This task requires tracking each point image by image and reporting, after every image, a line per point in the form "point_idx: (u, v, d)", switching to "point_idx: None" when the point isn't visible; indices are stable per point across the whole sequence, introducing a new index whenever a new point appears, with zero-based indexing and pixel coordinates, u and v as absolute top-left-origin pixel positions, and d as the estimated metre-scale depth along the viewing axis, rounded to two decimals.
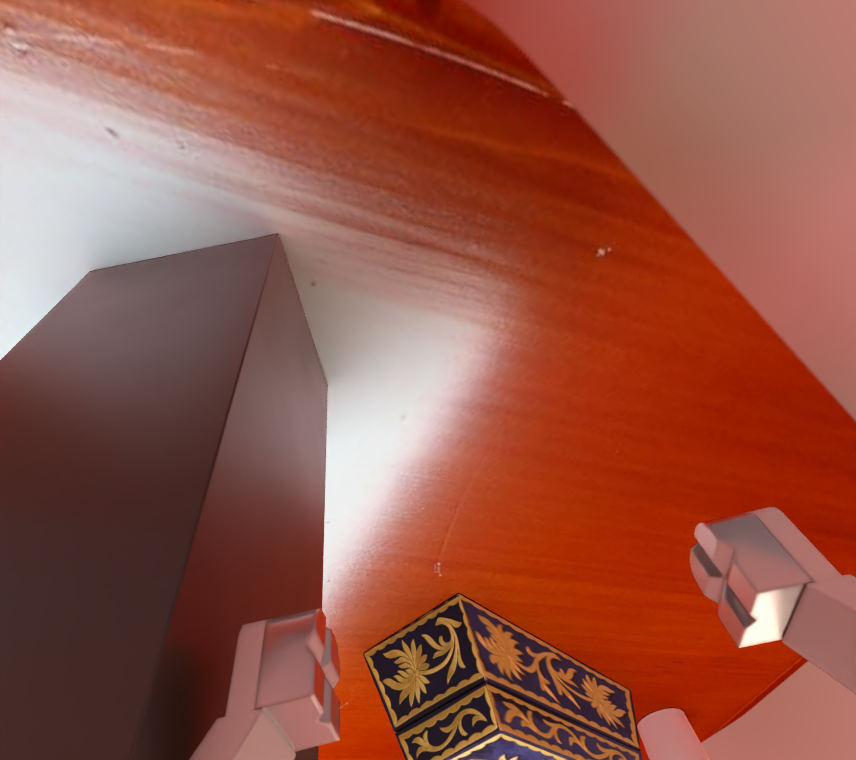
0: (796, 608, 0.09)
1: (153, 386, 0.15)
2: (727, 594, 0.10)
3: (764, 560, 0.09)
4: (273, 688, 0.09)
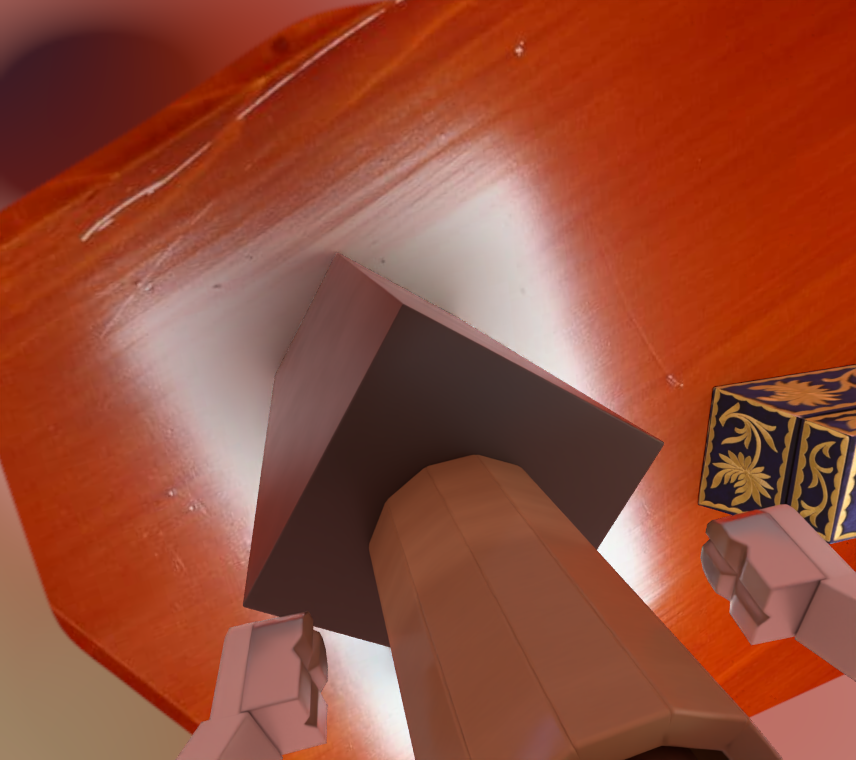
0: (810, 606, 0.09)
1: (330, 321, 0.22)
2: (740, 591, 0.10)
3: (777, 557, 0.09)
4: (258, 692, 0.09)
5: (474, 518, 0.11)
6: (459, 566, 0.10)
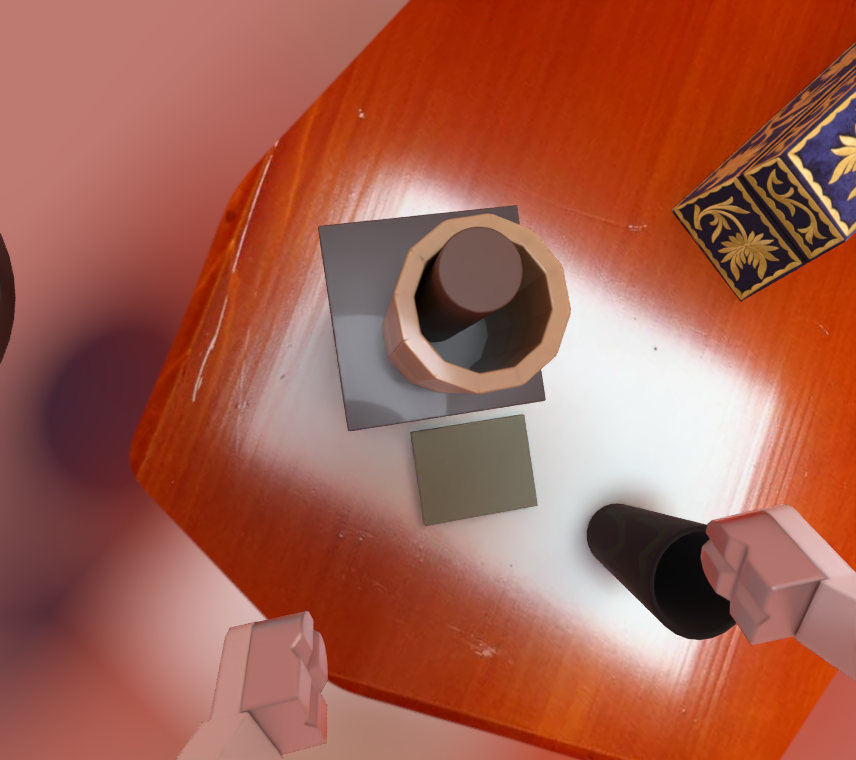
0: (809, 605, 0.09)
1: None
2: (740, 591, 0.10)
3: (777, 557, 0.09)
4: (258, 692, 0.09)
5: None
6: None
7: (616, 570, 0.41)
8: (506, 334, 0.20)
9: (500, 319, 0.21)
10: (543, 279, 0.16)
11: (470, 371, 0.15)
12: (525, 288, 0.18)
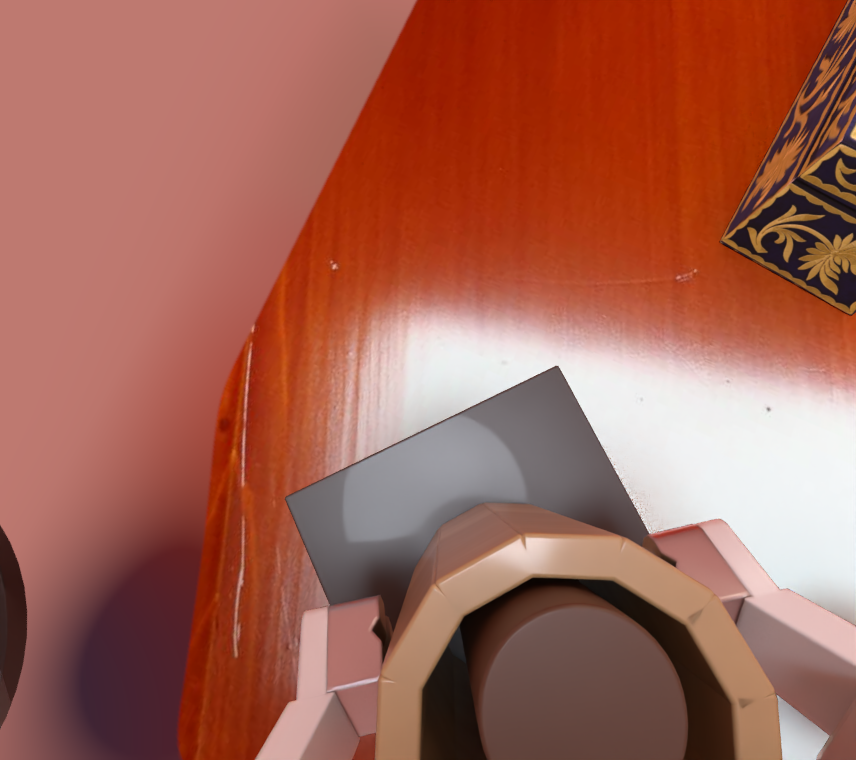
0: (736, 622, 0.09)
1: None
2: None
3: (705, 573, 0.09)
4: (342, 673, 0.09)
5: (416, 575, 0.12)
6: None
7: None
8: None
9: (595, 585, 0.12)
10: (683, 629, 0.07)
11: None
12: (635, 594, 0.09)
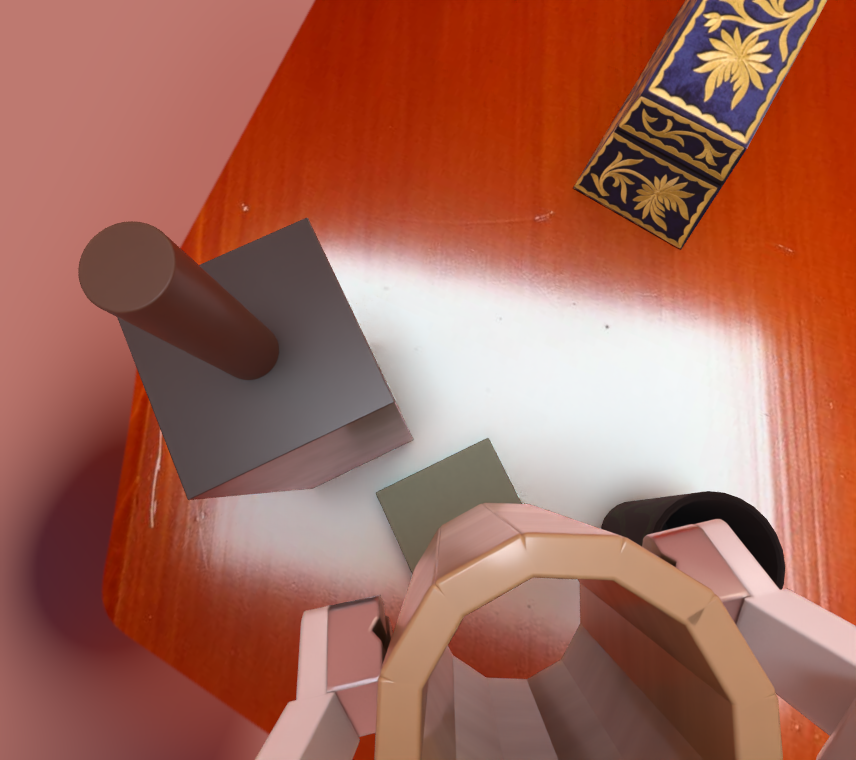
0: (736, 622, 0.09)
1: None
2: None
3: (705, 574, 0.09)
4: (342, 672, 0.09)
5: (415, 575, 0.12)
6: None
7: None
8: (618, 627, 0.11)
9: (595, 585, 0.12)
10: (683, 630, 0.07)
11: None
12: (635, 594, 0.09)
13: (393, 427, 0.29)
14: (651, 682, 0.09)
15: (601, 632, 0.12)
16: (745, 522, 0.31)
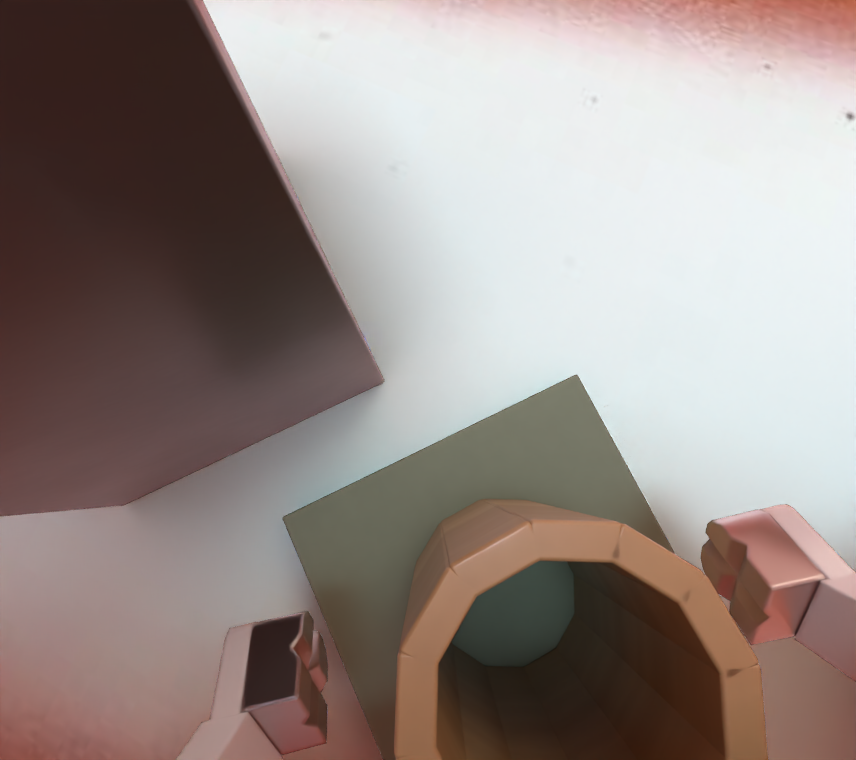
0: (809, 606, 0.09)
1: None
2: (740, 591, 0.10)
3: (777, 557, 0.09)
4: (258, 691, 0.09)
5: (420, 566, 0.13)
6: None
7: None
8: (612, 613, 0.12)
9: (590, 575, 0.13)
10: (676, 607, 0.08)
11: None
12: (630, 579, 0.10)
13: (68, 8, 0.03)
14: (644, 662, 0.10)
15: (595, 620, 0.13)
16: None
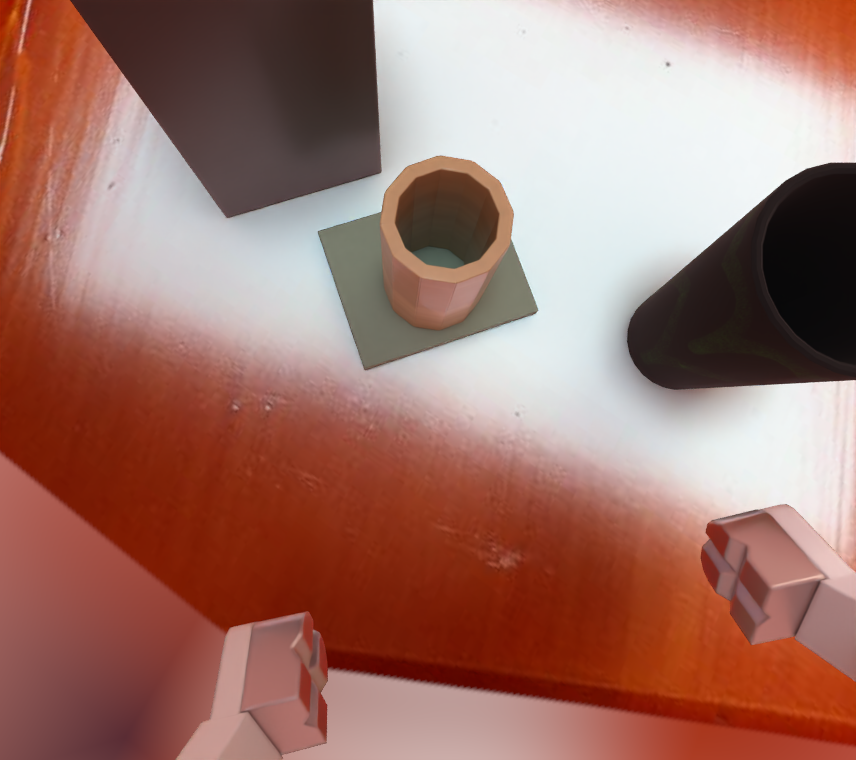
0: (809, 606, 0.09)
1: None
2: (740, 591, 0.10)
3: (777, 557, 0.09)
4: (258, 692, 0.09)
5: None
6: None
7: (687, 344, 0.23)
8: None
9: (474, 255, 0.26)
10: (488, 195, 0.21)
11: (447, 268, 0.20)
12: (481, 213, 0.23)
13: None
14: None
15: None
16: None
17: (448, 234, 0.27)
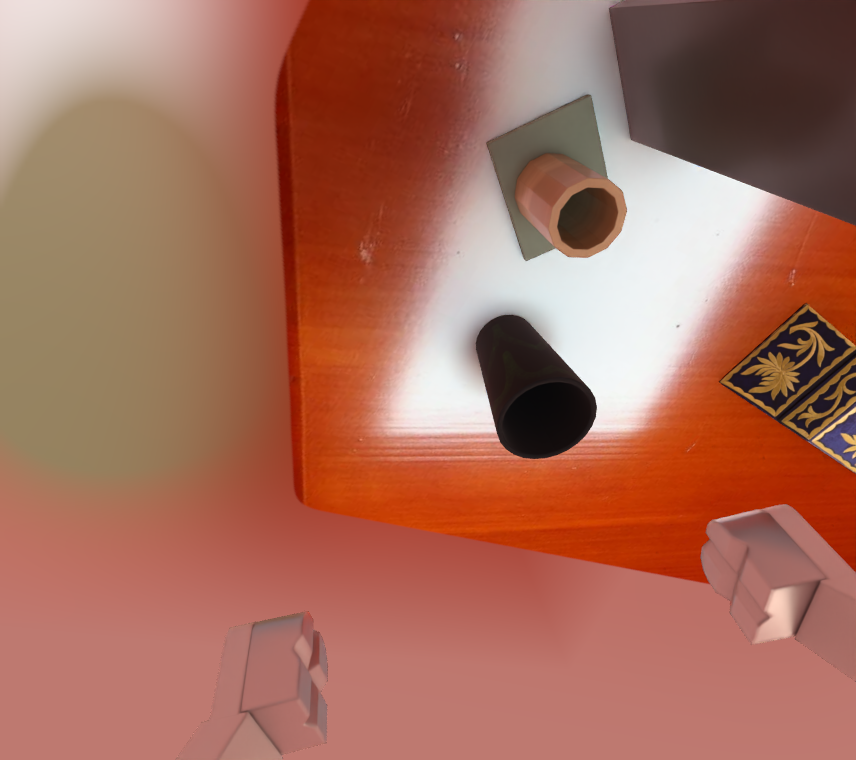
0: (809, 605, 0.09)
1: None
2: (740, 591, 0.10)
3: (777, 557, 0.09)
4: (258, 691, 0.09)
5: None
6: (579, 165, 0.37)
7: (507, 350, 0.42)
8: (560, 228, 0.40)
9: (564, 221, 0.40)
10: (599, 241, 0.36)
11: (557, 222, 0.34)
12: (590, 233, 0.37)
13: (748, 173, 0.29)
14: (562, 235, 0.38)
15: None
16: (559, 434, 0.42)
17: (579, 201, 0.40)
